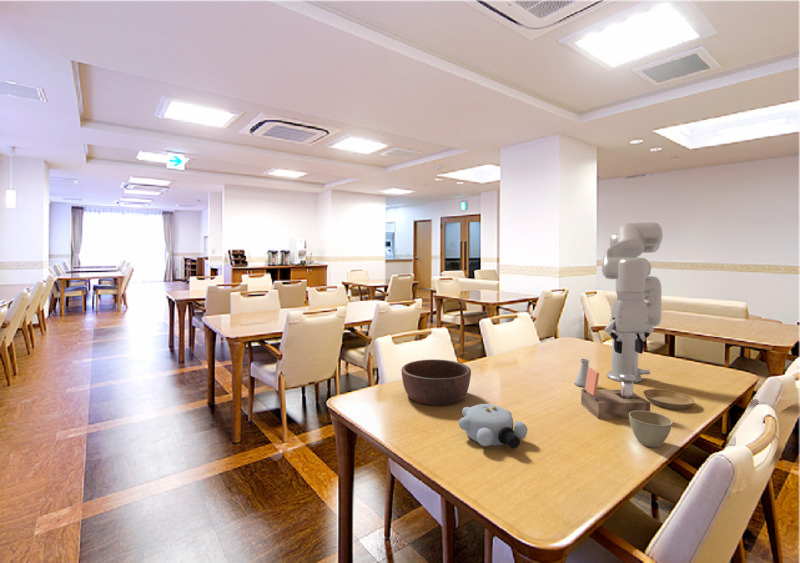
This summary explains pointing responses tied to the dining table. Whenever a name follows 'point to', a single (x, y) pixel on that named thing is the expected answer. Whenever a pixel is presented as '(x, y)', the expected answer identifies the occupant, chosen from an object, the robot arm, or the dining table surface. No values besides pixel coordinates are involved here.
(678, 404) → the plant saucer
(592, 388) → the plate
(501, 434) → the figurine
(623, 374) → the pin
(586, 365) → the flask
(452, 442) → the dining table surface
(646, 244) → the robot arm
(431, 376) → the wooden bowl
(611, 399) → the block
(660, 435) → the beige bowl
